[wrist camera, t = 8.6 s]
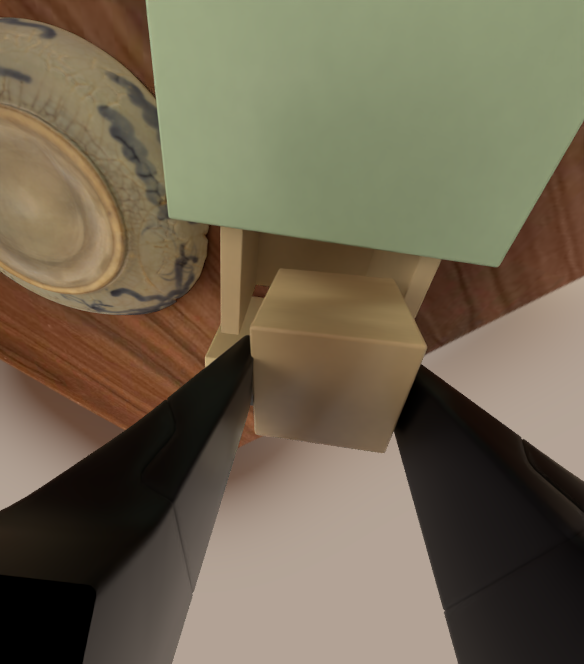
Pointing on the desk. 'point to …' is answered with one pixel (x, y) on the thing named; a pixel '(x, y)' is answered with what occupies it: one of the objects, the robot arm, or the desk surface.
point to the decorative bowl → (85, 179)
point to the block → (333, 359)
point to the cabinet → (367, 117)
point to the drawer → (300, 254)
